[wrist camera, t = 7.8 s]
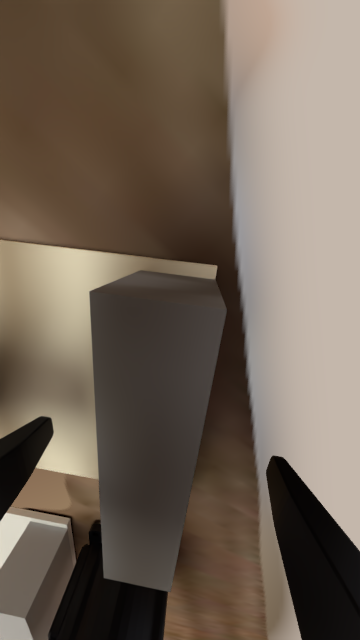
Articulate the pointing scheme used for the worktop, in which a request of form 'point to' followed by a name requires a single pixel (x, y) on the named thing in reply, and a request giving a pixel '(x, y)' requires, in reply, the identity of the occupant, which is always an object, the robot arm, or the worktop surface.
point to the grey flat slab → (33, 571)
